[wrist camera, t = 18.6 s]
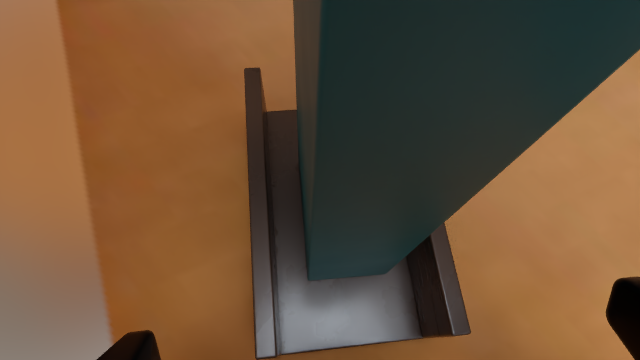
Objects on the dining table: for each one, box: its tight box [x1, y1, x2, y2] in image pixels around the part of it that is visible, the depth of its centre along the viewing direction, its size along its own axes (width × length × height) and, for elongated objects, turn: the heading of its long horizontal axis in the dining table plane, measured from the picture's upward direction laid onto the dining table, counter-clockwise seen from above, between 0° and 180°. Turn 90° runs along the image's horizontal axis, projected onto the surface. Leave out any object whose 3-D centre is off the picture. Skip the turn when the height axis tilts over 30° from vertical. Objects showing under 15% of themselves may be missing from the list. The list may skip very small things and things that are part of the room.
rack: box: [244, 68, 471, 360], centre depth 15 cm, size 10×7×4 cm, turn 6°
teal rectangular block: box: [293, 0, 640, 281], centre depth 10 cm, size 5×3×13 cm, turn 5°
